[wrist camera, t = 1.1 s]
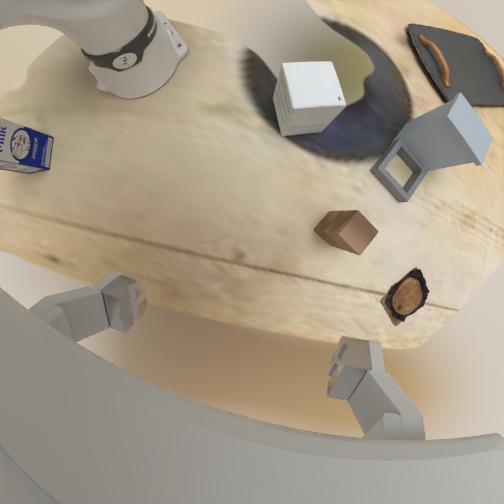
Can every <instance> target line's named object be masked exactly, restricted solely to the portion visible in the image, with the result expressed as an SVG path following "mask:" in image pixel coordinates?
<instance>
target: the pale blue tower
mask: <svg viewBox="0 0 504 504" xmlns="http://www.w3.org/2000/svg"><path fill="white" fill-rule="evenodd" d="M491 141H492V136H491V134H490V133H489V131H488V130H487V128H486V127H485V125H484V124H483V122H482V121H481V119H480V118H479V116H478V115H477V113H476V112H475V111H474V109H473V108H472V107H471V105H470V104H469V103H468V101H467V100H466V99H465V97H464V96H463V95H462V94H461V92H460V93H458V94H456V95H455V97H454V99H453V100H451V101H449V102H447V103H445V104H443V105H441V106H439V107H437V108H435V109H433V110H431V111H429V112H427V113H425V114H423V115H421V116H419V117H418V118H416V119H414V120H412V121H410V122H408V123H406V124H405V125H404V127H403V128H402V130H401V131H400V132H399V134H398V135H397V136H396V138H395V139H394V140H393V142H392V143H391V144H390V146H389V147H388V148H387V149H386V151H385V152H384V153H383V155H382V156H381V157H380V159H379V160H378V161H377V162H376V164H375V165H374V166H373V168H372V169H371V170H370V171H371V172H372V173H373V174H374V175H375V176H376V177H377V179H378V180H379V181H380V182H381V183H382V184H383V185H384V186H385V187H386V188H387V189H388V190H389V192H390V193H391V194H392V195H393V196H394V197H395V198H396V200H397V201H398V202H408V200H409V199H410V198H411V196H412V195H413V193H414V192H415V190H416V189H417V187H418V186H419V184H420V183H421V181H422V180H423V178H424V176H425V175H426V173H427V172H428V171H431V170H436V169H441V168H446V167H451V166H456V165H461V164H466V163H472V162H474V163H475V164H476V166H477V165H482V163H483V160H484V158H485V156H486V153H487V151H488V148H489V146H490V143H491ZM396 153H397V154H398V155H399V156H400V157H401V159H402V160H403V161H404V162H405V163H406V164H407V165H408V167H409V168H410V169H411V170H412V171H413V172H414V173H413V174H412V176H411V177H410V179H409V180H408V181H407V183H406V184H405V186H404V187H403V188H402V187H401V186H400V185H399V184H398V183H397V181H396V180H395V179H394V178H393V177H392V176H391V175H390V174H389V172H388V171H387V170H386V169H385V168H386V166H387V165H388V163H389V162H390V161H391V159H392V158H393V157H394V155H395V154H396Z"/></svg>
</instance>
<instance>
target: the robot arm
mask: <svg viewBox="0 0 504 504" xmlns="http://www.w3.org/2000/svg"><path fill="white" fill-rule="evenodd" d="M17 25H42V26H48V27H52V28H54V29H57V30H59V31H61V32H63V33H64V34H65V35H67V36H68V37H69V38H71V39H72V40H73V41H74V42H75V43H76V44H78V45H79V46H80V47H81V51H82V53H83V54H84V56H85V57H86V58H87V60H88V61H90V66H89V70H90V71H91V73H92V74H93V75H94V76H95V77H96V78H97V85H96V86H97V89H98V90H99V91H103V92H111V93H113V94H115V95H116V96H118V97H121V98H126V99H133V98H139V97H143V96H146V95H148V94H150V93H152V92H154V91H156V90H157V89H159V88H160V87H161V86H163V85H164V84H165V83H166V82H167V81H168V80H169V79H170V77H171V76H172V74H173V73H174V71H175V69H176V67H177V65H178V63H179V61H180V60H181V59H182V58H183V57H184V56H185V55H186V54H187V53H188V52H189V48H188V46H187V45H186V43H185V42H184V40H183V39H182V38H181V36H180V35H179V34H178V32H177V31H176V30H175V28H174V27H173V25H172V24H171V23H170V21H169V20H168V19H167V18H166V16H165V15H164V14H163V13H162V12H153V11H152V10H151V8H150V7H147V6H146V5H145V4H144V2H143V0H0V30H2V29H4V28H8V27H12V26H17ZM179 46H181V47H179ZM144 290H145V287H144V282H143V281H142V280H139V279H136V278H134V277H131V276H128V275H126V274H123V273H120V272H118V271H112V272H111V273H109V274H108V275H107V276H105V277H104V278H103V279H101V280H100V281H99V282H97V283H96V284H95V285H93V286H92V287H84V288H80V289H76V290H72V291H67V292H64V293H59V294H55V295H51V296H47V297H44V298H43V299H42V300H40V301H39V302H38V303H36V304H35V305H34V306H32V307H31V308H30V309H29V310H28V309H26V308H25V307H24V306H23V305H21V304H20V303H19V302H17V301H16V300H15V299H14V298H13V297H11V296H10V295H9V294H8V293H7V292H5V291H4V290H3V289H2V288H1V287H0V504H504V438H503V437H502V436H501V435H500V434H497V433H493V434H486V435H479V436H472V437H463V438H454V439H440V440H425V432H424V424H423V416H422V413H421V412H420V411H419V410H418V408H417V407H416V406H415V405H414V404H413V402H412V401H411V400H410V399H409V397H408V396H407V395H406V394H405V393H404V392H403V390H402V389H401V388H400V387H399V386H398V384H397V383H396V382H395V381H394V379H393V378H392V377H391V376H390V375H389V374H388V373H385V370H384V362H383V355H382V349H381V343H380V342H378V341H371V340H364V339H358V338H353V337H348V336H342V337H341V339H340V341H339V343H338V350H336V351H335V352H334V354H333V356H332V359H331V363H330V367H329V375H330V377H331V378H330V380H329V382H328V389H327V397H332V398H337V399H342V400H348V403H349V405H350V407H351V409H352V411H353V413H354V415H355V417H356V418H357V421H358V422H359V424H360V426H361V428H362V430H363V432H364V434H365V435H364V436H363V437H362V438H356V437H346V436H338V435H331V434H323V433H318V432H312V431H306V430H300V429H295V428H290V427H286V426H281V425H277V424H272V423H268V422H264V421H260V420H256V419H253V418H248V417H245V416H242V415H238V414H235V413H232V412H228V411H225V410H221V409H219V408H216V407H213V406H210V405H207V404H204V403H201V402H198V401H196V400H193V399H190V398H188V397H185V396H182V395H180V394H177V393H175V392H172V391H170V390H167V389H165V388H163V387H160V386H158V385H156V384H154V383H151V382H149V381H147V380H145V379H143V378H140V377H138V376H136V375H134V374H132V373H130V372H128V371H126V370H124V369H122V368H120V367H118V366H116V365H114V364H113V363H111V362H109V361H107V360H105V359H103V358H101V357H100V356H98V355H96V354H94V353H93V352H91V351H89V350H87V349H86V348H84V347H82V346H81V345H79V344H77V343H76V342H78V341H80V340H82V339H85V338H87V337H89V336H92V335H94V334H96V333H98V332H100V331H103V330H105V329H107V328H109V327H111V328H114V329H116V330H118V331H121V332H123V333H126V332H127V331H128V330H129V328H130V327H131V326H132V325H133V324H134V323H133V322H134V321H133V320H135V319H138V318H140V317H141V316H142V314H143V313H144V310H145V308H146V298H145V296H144V294H143V293H142V292H143V291H144Z"/></svg>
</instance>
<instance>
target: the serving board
mask: <svg viewBox="0 0 504 504" xmlns="http://www.w3.org/2000/svg"><path fill="white" fill-rule="evenodd" d="M408 30H409V31H408V35H409V36H410V37H411V39H412V42H413V45H414V46H415V48H416V50H417V53H418V55H419V57H420V59H421V61H422V63H423V65H424V66H425V68H426V70H427V71H428V73H429V74H430V76H431V77H432V79H433V81H434V82H435V84H436V85H437V87H438V88H439V89H440V91H441V93H442V94H443V95H442V99H443V101H444V102H446V103H447V102H449V101H451V100H453V99H454V97H455V95H456V94H458V93H460V92H461V94H462V95H463V96H464V97H465V99H466V100H467V101H468V103H469V104H470V105H471V106H477V105H482V106H496V107H498V106H500V105H501V106H504V70H503V68H502V66H501V64H500V62H499V61H498V59H497V58H496V57H495V56H494V55H492V54H490V53H489V52H488V51H487V49H486V48H485V47H484V45H483V44H482V43H481V42H480V41H479V40H478V39H477V38H474V37H472V36H468V35H465V34H461V33H457V32H453V31H449V30H445V29H440V28H435V27H430V26H424V25H418V24H408ZM494 61H495V62H496V63H495V62H494ZM496 64H497V65H496ZM497 66H498V67H497ZM498 68H499V69H498ZM499 70H500V71H499ZM500 72H501V73H500Z"/></svg>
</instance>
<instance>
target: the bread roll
mask: <svg viewBox="0 0 504 504" xmlns="http://www.w3.org/2000/svg"><path fill="white" fill-rule="evenodd" d="M429 292H430V291H429V290H428V288H427V286H426V281H425V279H424V277H423V274H422V272H421V270H420V269H419V270H418V269H417V268H414V269H413V270H411V271H410V272H409V273H407V274H406V275H405V276H404V277H403V278H402V279H401V280H400V281H399V282H398V283H395V284H394V286H393V287H391V289H390V290H389V291H388V293H387V294H386V295H385V296H384V297H383V298H382V299H381V304H382V305H383V307H384V309H385V310H386V312H387V314H388V316H389V317H390V319H391V321H392V322H393V324H394V325H395V326H397V325H398V324H399V323H400V322H402V321H403V322H404V320H405V318H406V317H407V316H408V315H411V314H413V313H415V312H416V311H417V310H418V309H420V308H421V307H423V306H424V304H425V300H426V299H427V295H428V293H429Z"/></svg>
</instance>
